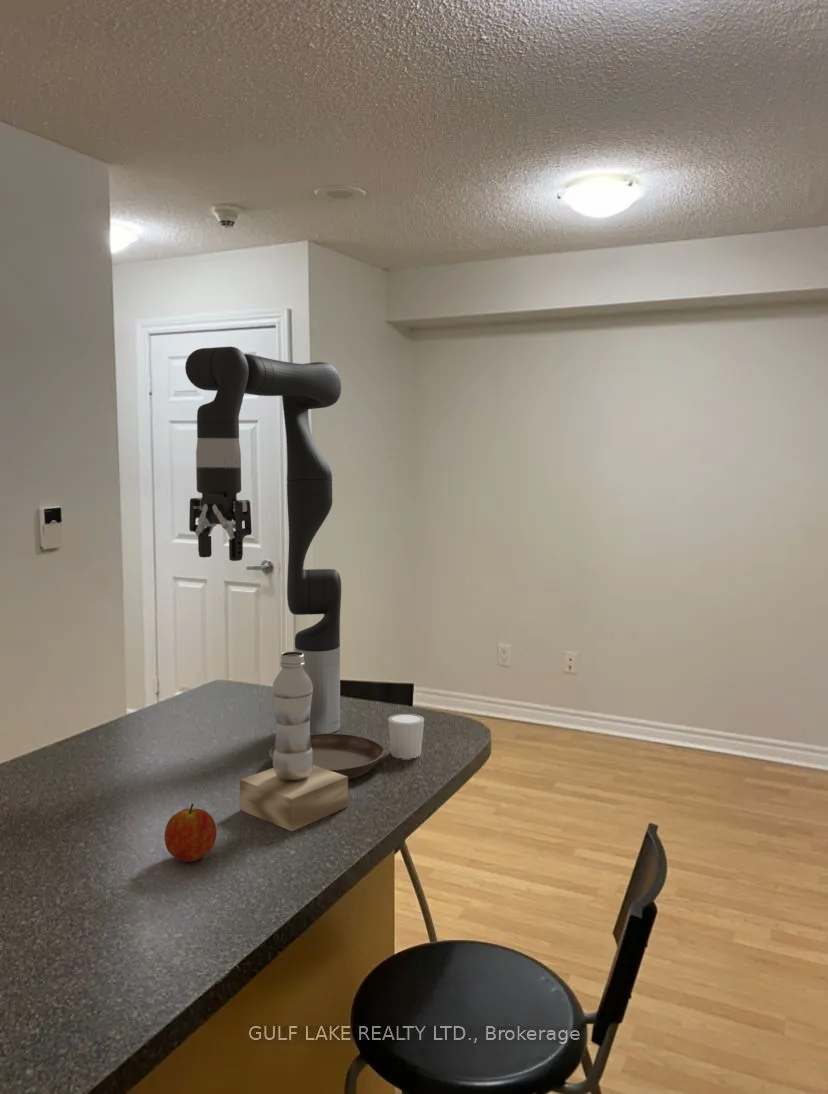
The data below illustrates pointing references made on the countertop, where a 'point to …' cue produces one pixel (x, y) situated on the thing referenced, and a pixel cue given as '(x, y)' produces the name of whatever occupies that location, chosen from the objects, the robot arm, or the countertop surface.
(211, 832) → the fruit
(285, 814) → the block
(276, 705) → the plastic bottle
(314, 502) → the robot arm
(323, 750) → the plant saucer
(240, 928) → the countertop surface
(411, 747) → the white cup
